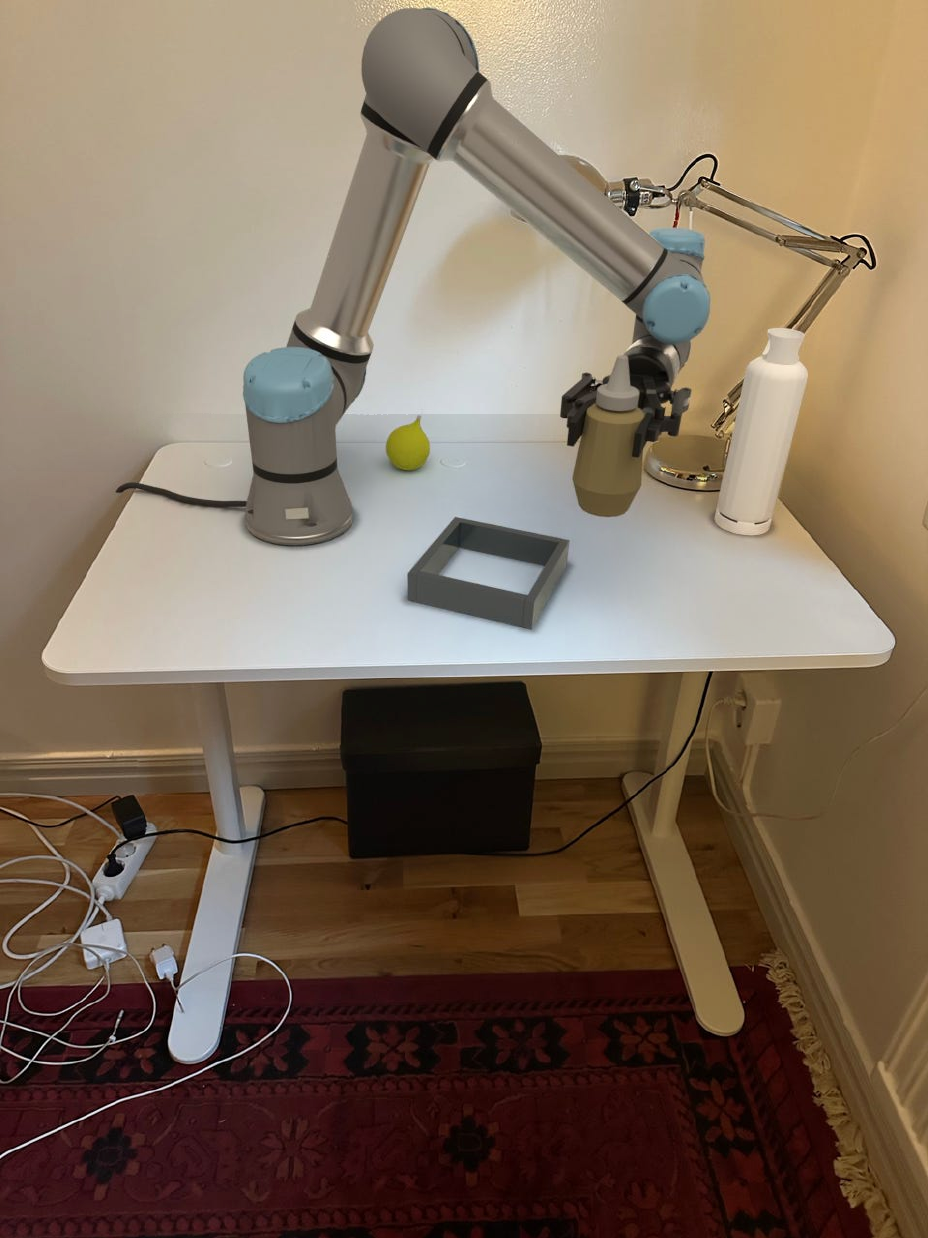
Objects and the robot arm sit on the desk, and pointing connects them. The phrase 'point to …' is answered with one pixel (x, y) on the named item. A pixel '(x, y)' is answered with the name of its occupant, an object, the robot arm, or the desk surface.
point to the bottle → (762, 434)
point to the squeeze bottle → (610, 448)
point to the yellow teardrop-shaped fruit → (408, 446)
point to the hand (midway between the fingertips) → (603, 439)
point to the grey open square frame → (479, 597)
